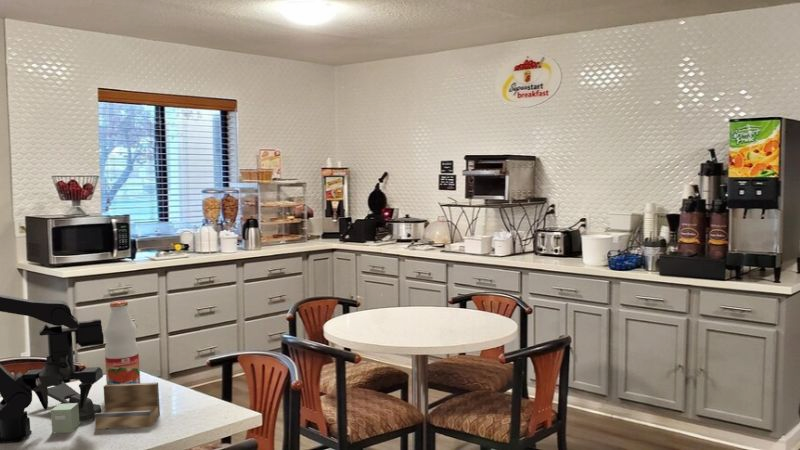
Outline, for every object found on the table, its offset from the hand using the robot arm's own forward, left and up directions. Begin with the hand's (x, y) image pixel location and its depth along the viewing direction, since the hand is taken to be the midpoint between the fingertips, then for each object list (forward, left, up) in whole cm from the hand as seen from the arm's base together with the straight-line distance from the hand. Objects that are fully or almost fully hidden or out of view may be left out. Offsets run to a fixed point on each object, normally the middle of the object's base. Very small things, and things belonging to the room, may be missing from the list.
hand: (64, 408), depth 184 cm
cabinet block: (0, 0, -5) cm, 5 cm away
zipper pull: (-5, +15, -6) cm, 16 cm away
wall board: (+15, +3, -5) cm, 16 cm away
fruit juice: (+6, +28, -6) cm, 29 cm away
